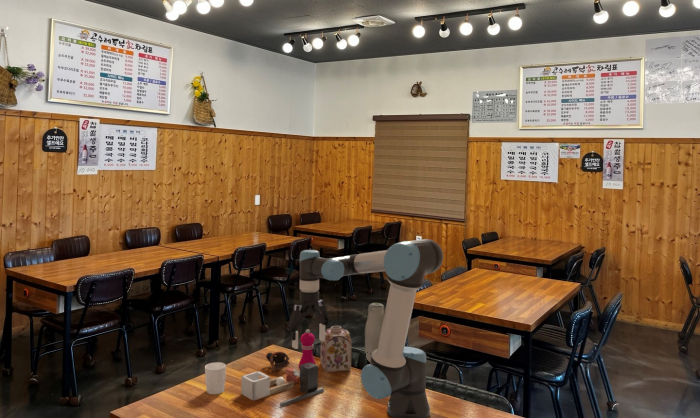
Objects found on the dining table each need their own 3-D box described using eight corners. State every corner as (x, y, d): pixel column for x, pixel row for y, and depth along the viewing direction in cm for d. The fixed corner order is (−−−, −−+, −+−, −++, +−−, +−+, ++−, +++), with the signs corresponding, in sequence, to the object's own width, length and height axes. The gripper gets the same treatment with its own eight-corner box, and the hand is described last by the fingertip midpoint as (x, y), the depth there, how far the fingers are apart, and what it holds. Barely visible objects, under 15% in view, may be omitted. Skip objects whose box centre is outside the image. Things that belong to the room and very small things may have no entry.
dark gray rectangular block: (317, 390, 204) (318, 365, 203) (307, 394, 201) (308, 368, 200) (293, 379, 215) (293, 355, 214) (283, 382, 212) (283, 358, 211)
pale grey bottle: (381, 359, 240) (382, 299, 238) (390, 367, 230) (391, 305, 228) (361, 362, 236) (362, 301, 235) (368, 370, 227) (370, 306, 225)
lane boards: (293, 386, 208) (293, 382, 208) (269, 395, 200) (269, 389, 200) (281, 380, 213) (281, 376, 213) (257, 388, 206) (257, 383, 205)
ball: (286, 386, 208) (286, 377, 208) (279, 388, 206) (279, 379, 205) (281, 383, 211) (281, 375, 210) (274, 386, 208) (274, 377, 208)
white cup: (200, 392, 201) (200, 367, 200) (214, 385, 208) (214, 360, 207) (216, 397, 197) (216, 371, 197) (230, 389, 204) (230, 364, 204)
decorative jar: (351, 371, 226) (352, 330, 224) (324, 373, 223) (325, 331, 222) (345, 361, 237) (345, 322, 236) (320, 363, 234) (320, 323, 233)
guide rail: (323, 391, 204) (323, 388, 204) (282, 406, 190) (282, 403, 190) (321, 390, 205) (321, 387, 205) (280, 405, 191) (280, 402, 191)
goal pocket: (270, 394, 200) (270, 377, 199) (253, 400, 195) (253, 382, 194) (258, 388, 206) (258, 371, 205) (241, 393, 200) (241, 376, 200)
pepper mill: (313, 380, 215) (313, 332, 213) (296, 378, 216) (296, 331, 215) (317, 373, 222) (318, 327, 220) (301, 372, 223) (301, 326, 222)
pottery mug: (294, 366, 231) (293, 354, 226) (282, 382, 224) (281, 369, 219) (272, 355, 236) (271, 343, 231) (259, 370, 229) (258, 358, 224)
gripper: (327, 284, 213) (326, 335, 214) (277, 293, 196) (277, 348, 197) (339, 287, 208) (339, 339, 209) (289, 296, 190) (289, 353, 192)
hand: (308, 344), depth 203 cm, fingers open, 13 cm apart
